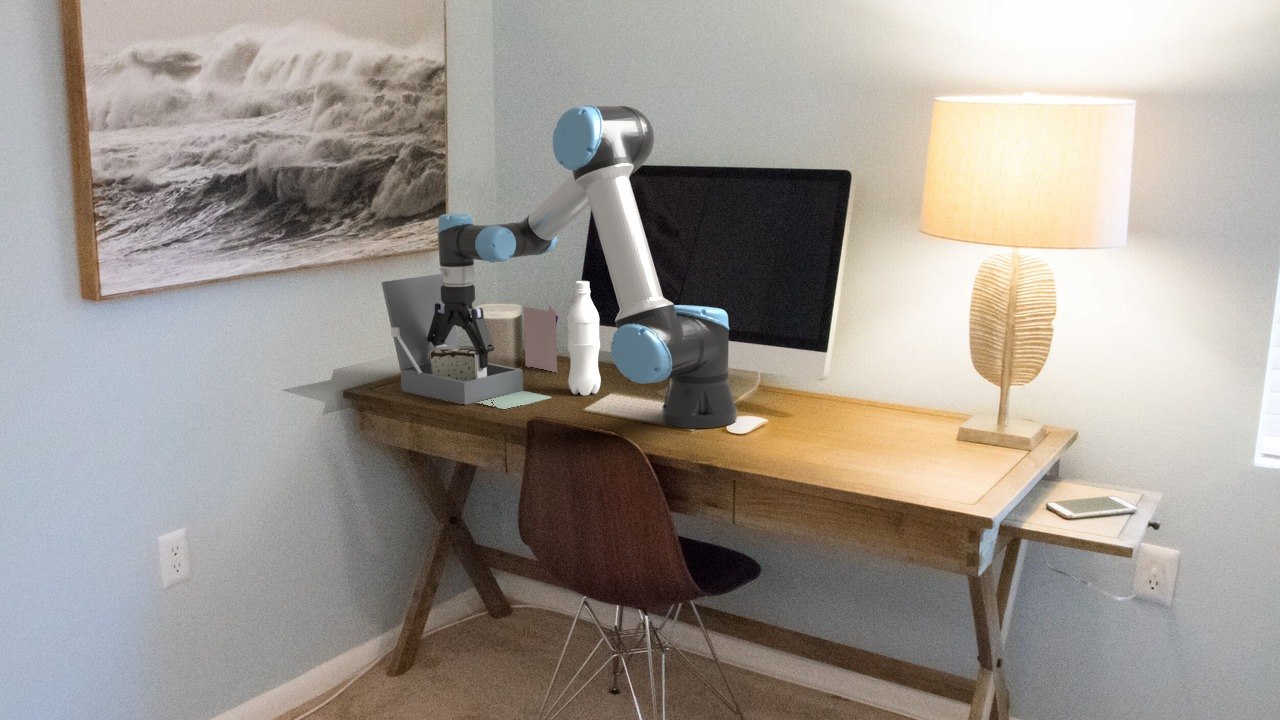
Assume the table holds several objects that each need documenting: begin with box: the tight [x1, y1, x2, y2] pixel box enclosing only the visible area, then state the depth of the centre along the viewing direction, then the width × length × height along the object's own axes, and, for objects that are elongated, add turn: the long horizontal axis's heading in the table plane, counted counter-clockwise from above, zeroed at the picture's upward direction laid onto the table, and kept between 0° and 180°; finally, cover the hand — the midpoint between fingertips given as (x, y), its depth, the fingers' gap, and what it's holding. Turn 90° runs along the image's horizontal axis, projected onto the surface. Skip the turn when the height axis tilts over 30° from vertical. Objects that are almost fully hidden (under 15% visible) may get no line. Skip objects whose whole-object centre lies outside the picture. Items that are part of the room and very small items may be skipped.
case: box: [380, 273, 524, 404], centre depth 254 cm, size 27×17×25 cm, turn 49°
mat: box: [474, 390, 552, 410], centre depth 246 cm, size 9×14×1 cm, turn 139°
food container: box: [427, 344, 477, 381], centre depth 254 cm, size 12×6×10 cm, turn 85°
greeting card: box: [523, 304, 559, 374], centre depth 276 cm, size 11×7×15 cm, turn 12°
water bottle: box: [566, 280, 602, 397], centre depth 250 cm, size 7×7×25 cm
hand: (461, 377), depth 255 cm, fingers open, 13 cm apart
